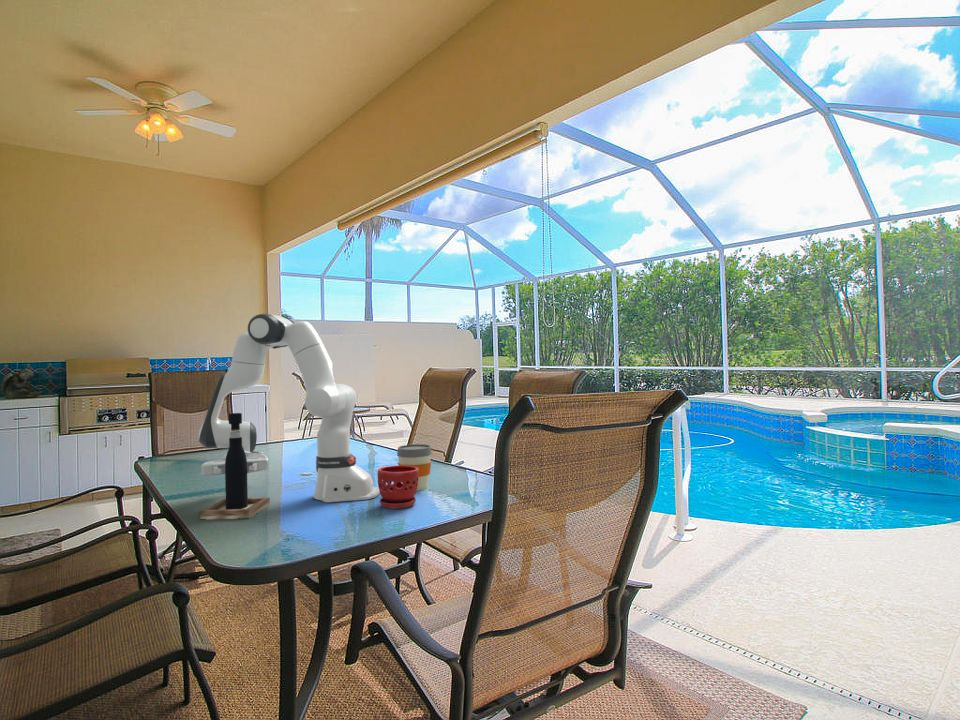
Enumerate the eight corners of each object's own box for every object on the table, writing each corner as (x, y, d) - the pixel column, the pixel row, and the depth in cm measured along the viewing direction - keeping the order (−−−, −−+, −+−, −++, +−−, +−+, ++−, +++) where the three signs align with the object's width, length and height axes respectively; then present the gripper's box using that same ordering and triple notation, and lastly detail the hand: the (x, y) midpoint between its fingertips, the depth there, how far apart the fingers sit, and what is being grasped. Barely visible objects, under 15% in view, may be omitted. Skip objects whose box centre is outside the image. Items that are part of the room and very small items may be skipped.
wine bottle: (252, 505, 169) (250, 412, 170) (236, 510, 164) (234, 414, 164) (237, 503, 172) (236, 412, 172) (221, 508, 166) (219, 414, 166)
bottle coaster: (269, 505, 173) (269, 497, 173) (249, 518, 158) (248, 510, 158) (225, 506, 174) (224, 498, 174) (200, 519, 159) (199, 511, 159)
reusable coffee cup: (430, 491, 186) (429, 449, 186) (395, 492, 186) (394, 450, 186) (434, 483, 198) (433, 443, 198) (401, 484, 198) (400, 444, 198)
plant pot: (413, 511, 162) (412, 472, 162) (372, 510, 163) (371, 472, 163) (423, 499, 175) (422, 464, 175) (385, 499, 176) (384, 464, 176)
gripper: (201, 456, 175) (198, 463, 163) (267, 451, 184) (269, 457, 171) (202, 475, 175) (198, 484, 163) (268, 469, 184) (269, 476, 171)
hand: (235, 470), depth 167 cm, fingers open, 8 cm apart
